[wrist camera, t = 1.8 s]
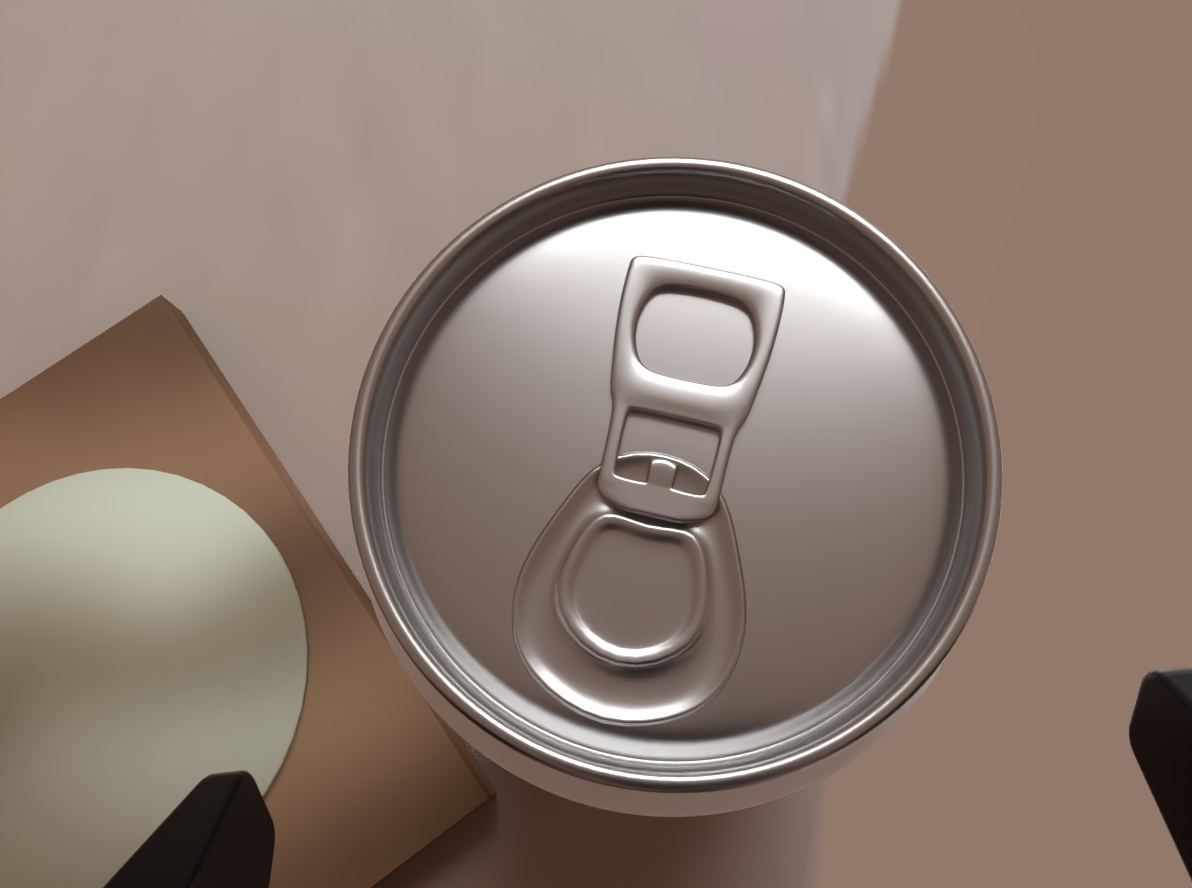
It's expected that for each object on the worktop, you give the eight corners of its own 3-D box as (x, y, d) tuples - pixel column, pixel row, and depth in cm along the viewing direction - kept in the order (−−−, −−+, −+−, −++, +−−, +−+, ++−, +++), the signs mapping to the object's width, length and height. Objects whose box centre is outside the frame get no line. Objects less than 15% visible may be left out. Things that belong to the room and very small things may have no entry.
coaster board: (495, 792, 19) (486, 799, 17) (63, 1119, 17) (23, 1150, 16) (182, 312, 21) (156, 291, 20) (-206, 566, 20) (-257, 559, 19)
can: (462, 700, 19) (191, 735, 7) (540, 408, 21) (417, 57, 9) (771, 780, 18) (1002, 956, 7) (829, 473, 20) (1100, 186, 8)
